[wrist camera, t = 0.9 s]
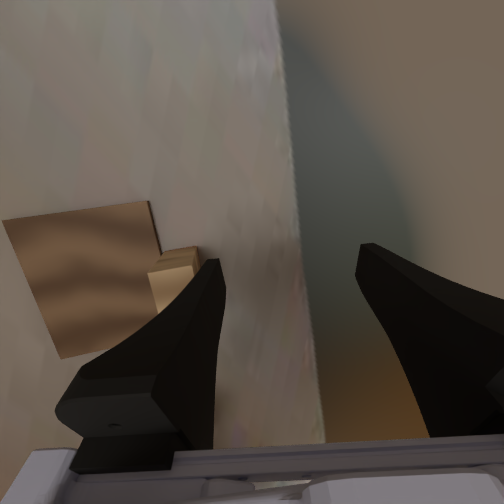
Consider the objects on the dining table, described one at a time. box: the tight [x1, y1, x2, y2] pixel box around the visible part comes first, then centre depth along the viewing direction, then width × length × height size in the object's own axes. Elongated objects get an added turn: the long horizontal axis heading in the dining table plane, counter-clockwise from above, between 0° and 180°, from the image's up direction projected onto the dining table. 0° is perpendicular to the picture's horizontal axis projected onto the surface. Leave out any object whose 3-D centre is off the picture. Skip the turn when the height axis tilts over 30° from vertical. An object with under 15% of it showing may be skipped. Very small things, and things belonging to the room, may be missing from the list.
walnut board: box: [2, 201, 162, 359], centre depth 28 cm, size 18×15×1 cm
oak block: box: [147, 246, 201, 314], centre depth 26 cm, size 5×4×9 cm
